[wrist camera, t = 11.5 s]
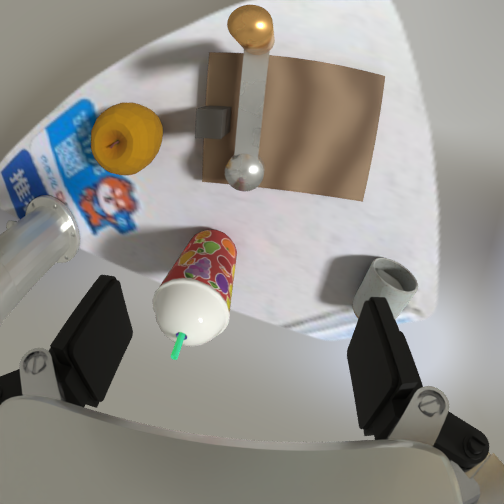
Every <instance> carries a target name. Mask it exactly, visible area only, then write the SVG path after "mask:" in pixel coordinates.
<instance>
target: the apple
mask: <svg viewBox="0 0 504 504" xmlns="http://www.w3.org/2000/svg"><path fill="white" fill-rule="evenodd" d="M162 137H163V128H162V124H161V121H160V119H159V117H158V116H157V115H156V114H155V113H154V112H153V111H152V110H150V109H148V108H147V107H144V106H142V105H139V104H136V103H120V104H117V105H114V106H112V107H110V108H108V109H107V110H105V111H104V112H103V113H101V115H100V116H99V117H98V118H97V120H96V122H95V124H94V126H93V128H92V131H91V149H92V153H93V155H94V157H95V159H96V161H97V162H98V163H99V164H100V165H101V166H102V167H103V168H104V169H105V170H107V171H108V172H110V173H114V174H118V175H132V174H136V173H137V172H139V171H140V170H142V169H143V168H145V167H146V166H147V165H149V164H150V163H151V162H152V160H153V159H154V158H155V156H156V155H157V153H158V152H159V149H160V146H161V142H162Z"/></svg>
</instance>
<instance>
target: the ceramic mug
mask: <svg viewBox="0 0 504 504" xmlns="http://www.w3.org/2000/svg"><path fill="white" fill-rule="evenodd" d="M417 289H418V283H417V280H416V279H415V277H414V276H413V275H412V273H411V272H410V271H409V270H408V269H406V268H405V267H404V266H402V265H401V264H399V263H398V262H395V261H393V260H391V259H387V258H376V259H375V260H374V261H373V262H372V263H371V266H370V268H369V270H368V272H367V274H366V276H365V277H364V279H363V281H362V283H361V285H360V287H359V289H358V291H357V293H356V295H355V297H354V300H353V310H354V313H355V315H356V316H357V318H358V319H359V316H360V313H361V310H362V307H363V304H364V302H365V301H366V300H369V298H370V297H385V298H386V299H387V301H388V304H389V306H390V309H391V311H392V313H393V316H394V318H395V320H396V318H397V317H398V316H399V314H400V313H401V311H402V310H403V309H404V307H405V306H406V305H407V304H408V302H409V301H410V300H411V298H412V297H413V296H414V294H415V293H416V291H417Z"/></svg>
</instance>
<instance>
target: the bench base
mask: <svg viewBox="0 0 504 504" xmlns="http://www.w3.org/2000/svg"><path fill="white" fill-rule="evenodd" d="M243 56H244V53H215V52H209V63H208V76H207V90H206V106H205V107H201V108H198V109H196V130H195V138H204V145H203V172H202V182H211V183H222V184H229V183H228V181H227V180H226V177H225V168H226V165H227V163H228V162H229V160H230V159H231V157H232V156H233V155H234V154H235V142H236V130H237V119H238V108H239V97H240V86H241V76H242V66H243ZM384 82H385V76H382V75H379V74H375V73H371V72H367V71H363V70H358V69H354V68H349V67H345V66H340V65H335V64H329V63H324V62H318V61H311V60H305V59H298V58H290V57H281V56H272V55H269V62H268V72H267V81H266V90H265V99H264V109H263V118H262V127H261V137H260V146H259V156H260V157H261V159H262V160H263V162H264V167H265V170H264V176H263V180H262V182H261V183H260V185H259V186H258V187H261V188H270V189H279V190H287V191H295V192H302V193H310V194H317V195H324V196H330V197H337V198H344V199H350V200H356V201H362V202H363V198H364V193H365V189H366V184H367V180H368V175H369V170H370V165H371V161H372V155H373V150H374V145H375V140H376V134H377V128H378V122H379V116H380V110H381V103H382V96H383V89H384Z"/></svg>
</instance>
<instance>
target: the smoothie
mask: <svg viewBox="0 0 504 504" xmlns="http://www.w3.org/2000/svg"><path fill="white" fill-rule="evenodd" d="M236 256H237V251H236V248H235V245H234V243H233V242H232V240H231V239H230V238H229V237H228V236H227V235H226V234H225V233H223V232H220V231H218V230H206V231H201V232H199V233H198V234H196V235H194V237H193V238H192V239H191V240H190V242H189V243H188V245H187V246H186V248H185V249H184V251H183V252H182V254H181V255H180V257H179V258H178V259H177V261H176V262H175V264H174V265H173V267H172V268H171V270H170V272H169V273H168V275H167V276H166V278H165V279H164V281H163V282H162V284H161V285H160V287H159V288H158V289H157V291H156V292H155V294H154V298H153V309H154V312H155V314H156V320H157V323H158V325H159V327H160V329H161V331H162V332H163V333H164V334H165V335H166V336H167V337H168V338H169V339H170V340H172V341H173V342H175V346H174V349H173V351H172V354H171V358H172V359H174V360H177V358H178V355H179V352H180V349H181V346H182V345H185V346H199V345H202V344H205V343H207V342H209V341H210V340H212V339H213V338H215V337H216V336H217V335H219V334H220V333H221V332H223V331H224V330H225V328H226V326H227V325H228V323H229V314H230V304H231V296H232V288H233V280H234V272H235V264H236Z"/></svg>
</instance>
